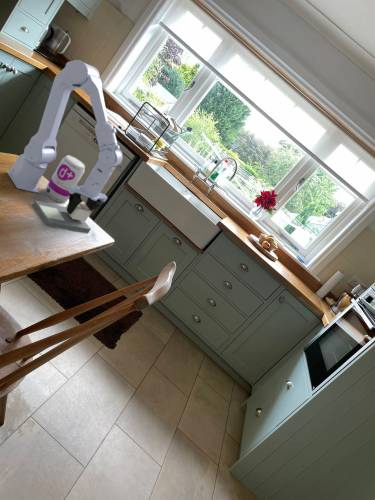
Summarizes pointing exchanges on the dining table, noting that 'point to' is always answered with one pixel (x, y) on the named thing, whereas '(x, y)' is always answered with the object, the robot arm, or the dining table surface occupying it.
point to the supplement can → (65, 178)
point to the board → (59, 217)
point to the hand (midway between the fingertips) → (75, 213)
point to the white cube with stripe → (80, 212)
